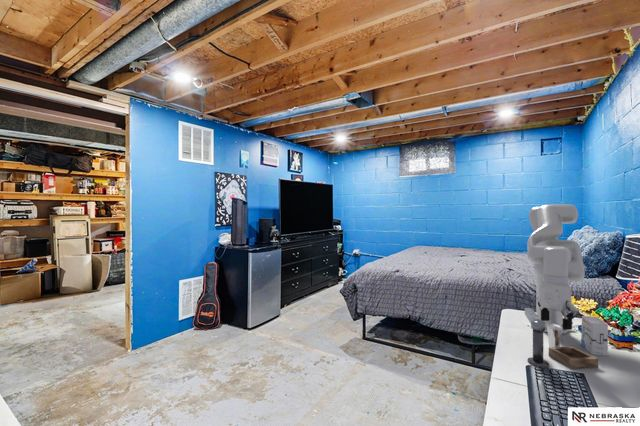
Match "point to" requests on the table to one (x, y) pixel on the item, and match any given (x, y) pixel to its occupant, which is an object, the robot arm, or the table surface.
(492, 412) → the table surface
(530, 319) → the lever
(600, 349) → the ink box
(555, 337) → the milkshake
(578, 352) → the square wooden tray
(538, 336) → the post
